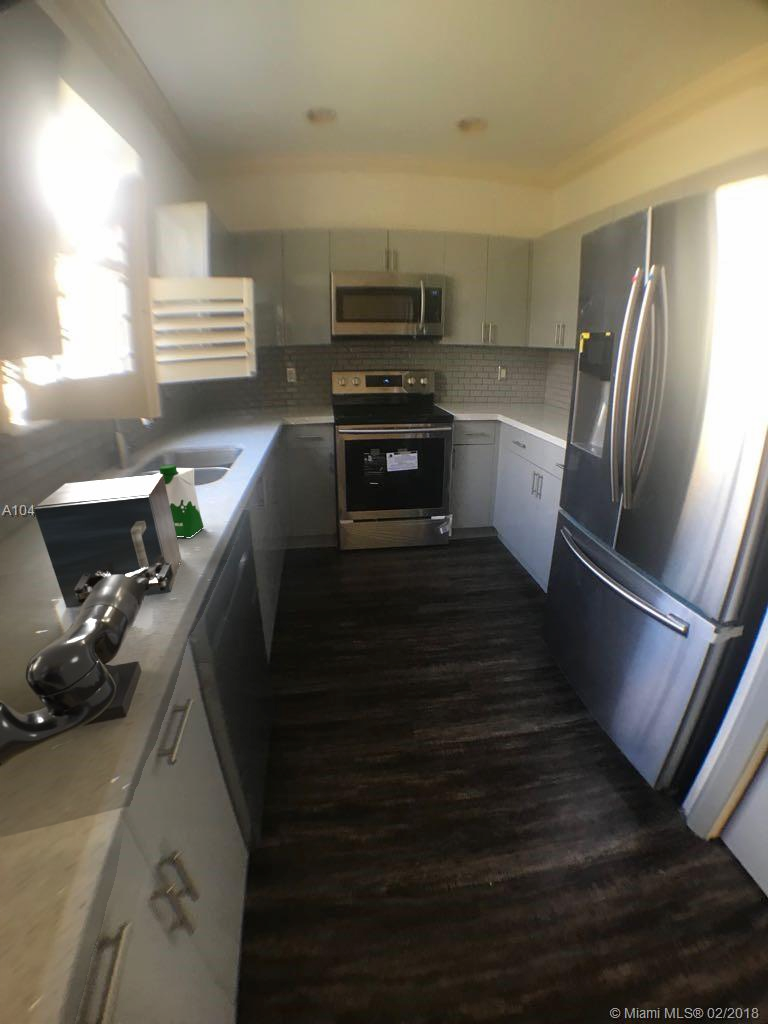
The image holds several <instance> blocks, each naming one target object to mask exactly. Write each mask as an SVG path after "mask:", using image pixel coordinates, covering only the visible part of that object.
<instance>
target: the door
mask: <svg viewBox="0 0 768 1024" xmlns="http://www.w3.org/2000/svg"><path fill="white" fill-rule="evenodd" d="M33 511H34V515H35V518H36V521H37V524H38V527H39V531H40V533H41V536H42V538H43V542H44V545H45V548H46V551H47V554H48V557H49V560H50V563H51V566H52V569H53V572H54V575H55V578H56V581H57V584H58V587H59V590H60V594H61V596H62V599H63V602H64V605H65V608H72V607H81V606H82V605H83V603H84V602H83V603H78V600H77V596H76V593H75V590H74V589H75V587H76V586H77V584H78V582H79V581H80V579H81V577H82V576H83V575H84V574H87V573H90V574H91V575H94V574H95V572H96V571H99V570H100V568H101V567H102V566H103V565H105V564H106V562H112V565H113V569H114V572H113V574H112V575H117V574H127V573H130V572H134V571H136V570H138V569H140V568H142V567H144V566H147V567H149V566H151V565H153V563H154V560H155V558H156V556H157V555H161V556H162V557H164V556H163V551H162V547H161V543H160V538H159V534H158V530H157V526H156V521H155V517H154V513H153V508H152V504H151V500H150V496H149V495H148V496H139V497H129V498H120V499H110V500H101V501H91V502H82V503H72V504H63V505H53V506H44V507H36V506H35V507H34V508H33ZM152 573H153V575H154V574H156V573H155V570H153V572H152ZM141 575H143V576H145V575H144V573H143V574H141ZM95 585H96V584H95ZM95 585H94V586H95ZM93 588H94V587H93ZM171 591H172V589H171V586H170V584H169V586H168V588H167V589H166V590H164V591H160V589H159V587H154V588H150V589H149V590H148V591H147V592H146V593H145V595H144V597H145V596H153V595H159V594H165V593H171Z"/></svg>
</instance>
